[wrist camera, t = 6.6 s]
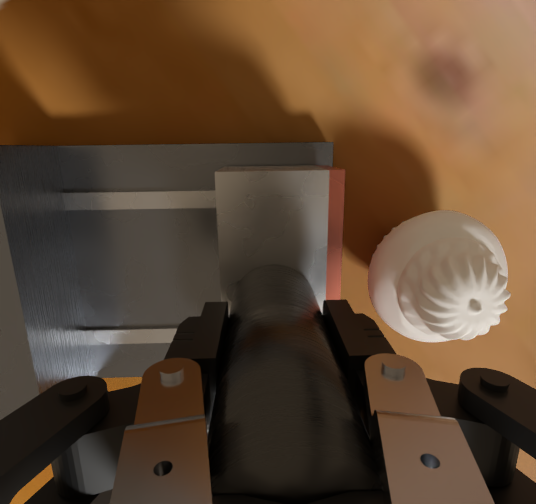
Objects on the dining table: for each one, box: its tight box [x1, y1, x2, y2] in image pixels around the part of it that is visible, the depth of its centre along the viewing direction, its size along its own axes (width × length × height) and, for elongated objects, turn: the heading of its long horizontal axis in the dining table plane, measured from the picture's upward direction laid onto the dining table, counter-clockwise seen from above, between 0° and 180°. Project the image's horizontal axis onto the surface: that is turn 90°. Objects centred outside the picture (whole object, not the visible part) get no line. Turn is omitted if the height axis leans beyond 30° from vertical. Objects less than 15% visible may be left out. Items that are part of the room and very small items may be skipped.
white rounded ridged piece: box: [368, 210, 511, 342], centre depth 17 cm, size 6×6×7 cm
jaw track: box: [0, 142, 333, 420], centre depth 17 cm, size 12×16×6 cm
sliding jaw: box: [207, 165, 382, 504], centre depth 12 cm, size 10×5×13 cm, turn 1°
